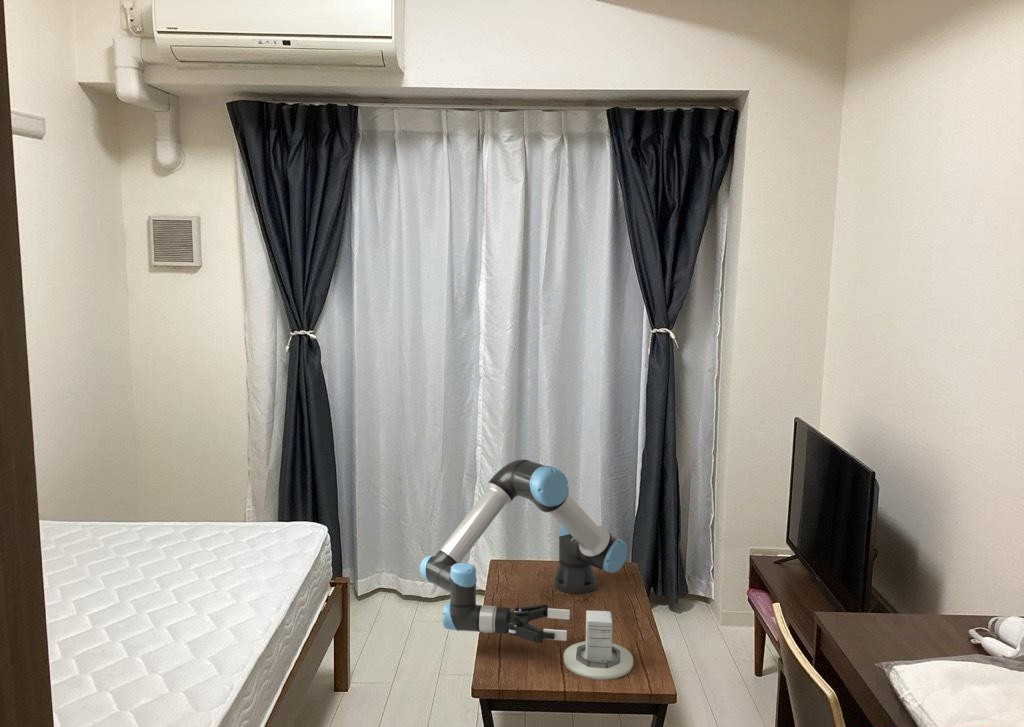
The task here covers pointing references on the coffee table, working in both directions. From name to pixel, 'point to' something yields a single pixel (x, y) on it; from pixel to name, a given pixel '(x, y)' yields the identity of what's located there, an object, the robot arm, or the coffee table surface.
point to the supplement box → (598, 636)
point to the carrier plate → (598, 673)
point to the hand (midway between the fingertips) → (568, 624)
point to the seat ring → (597, 664)
